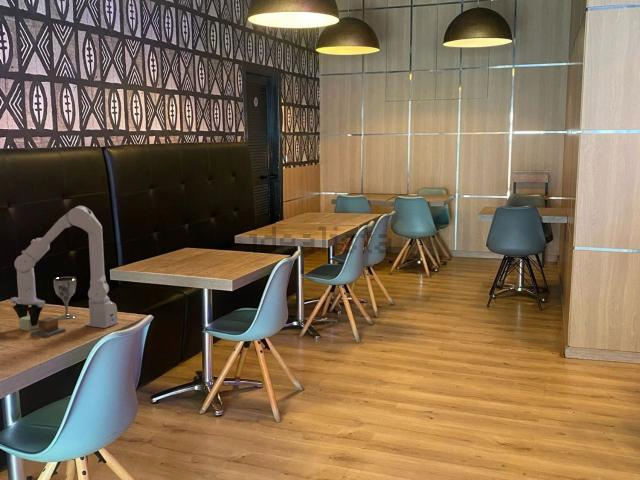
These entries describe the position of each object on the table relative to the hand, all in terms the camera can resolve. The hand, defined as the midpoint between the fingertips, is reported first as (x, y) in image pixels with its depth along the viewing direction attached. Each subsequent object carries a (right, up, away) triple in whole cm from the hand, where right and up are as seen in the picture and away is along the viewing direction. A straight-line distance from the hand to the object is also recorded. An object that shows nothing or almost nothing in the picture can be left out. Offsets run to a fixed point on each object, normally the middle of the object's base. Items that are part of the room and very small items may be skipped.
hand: (29, 324), depth 227 cm
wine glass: (+7, +1, +15) cm, 17 cm away
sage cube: (0, -1, 0) cm, 1 cm away
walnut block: (+9, -1, -6) cm, 11 cm away
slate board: (+9, -2, -6) cm, 11 cm away
